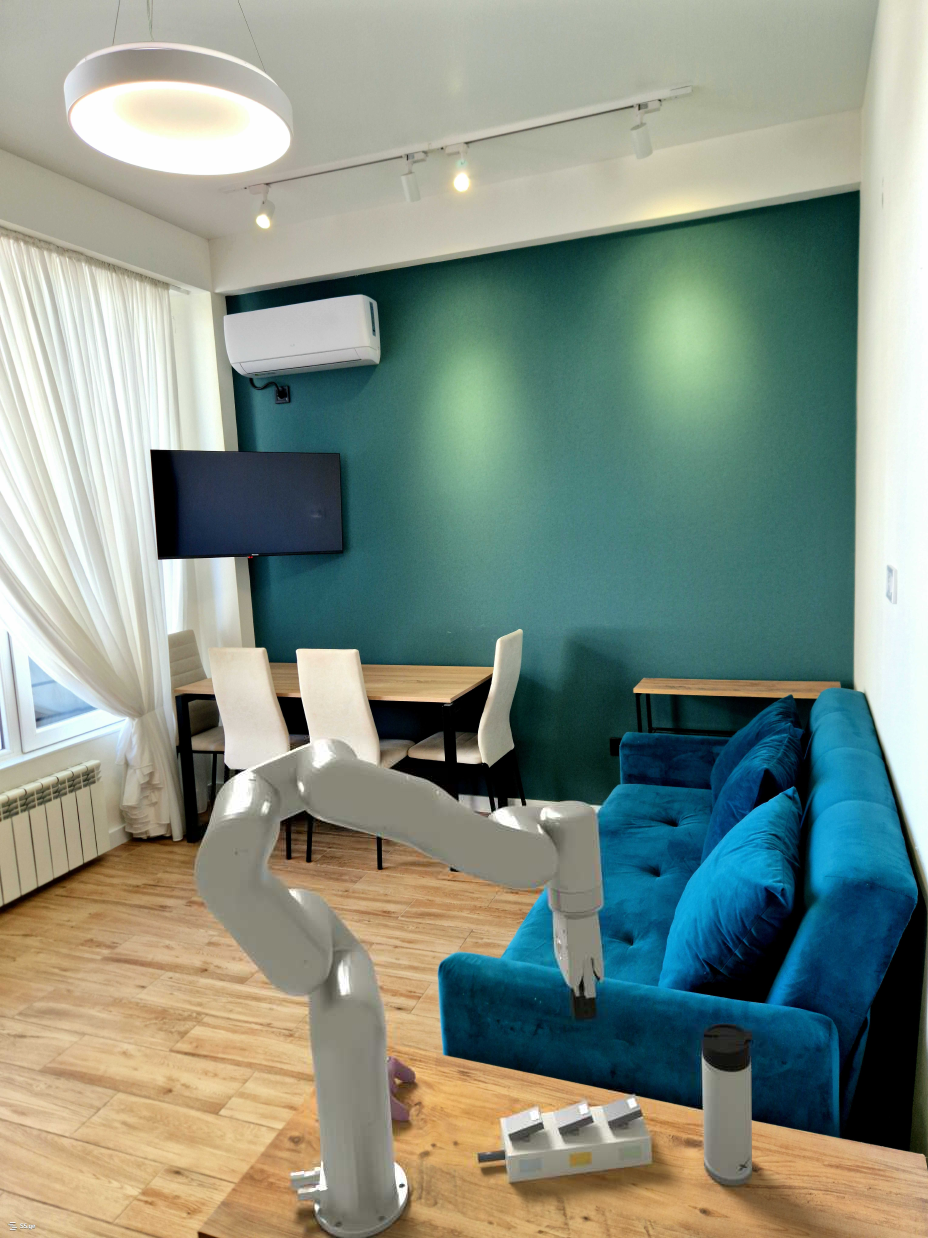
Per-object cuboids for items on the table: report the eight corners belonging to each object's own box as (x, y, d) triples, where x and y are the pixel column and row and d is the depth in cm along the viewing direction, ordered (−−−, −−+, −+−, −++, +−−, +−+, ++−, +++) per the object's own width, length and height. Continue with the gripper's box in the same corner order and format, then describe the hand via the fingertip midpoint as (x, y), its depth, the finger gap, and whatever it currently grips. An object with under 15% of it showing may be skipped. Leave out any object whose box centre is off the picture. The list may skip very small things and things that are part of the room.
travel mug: (758, 1190, 107) (756, 1051, 104) (706, 1185, 108) (703, 1047, 106) (751, 1153, 113) (749, 1021, 111) (702, 1148, 115) (699, 1017, 112)
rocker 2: (609, 1129, 113) (607, 1121, 113) (603, 1113, 116) (601, 1106, 116) (643, 1116, 114) (640, 1108, 113) (636, 1101, 117) (634, 1093, 116)
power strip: (481, 1187, 110) (479, 1156, 109) (475, 1147, 117) (473, 1117, 117) (652, 1164, 112) (651, 1133, 112) (636, 1126, 119) (635, 1097, 119)
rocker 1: (510, 1142, 112) (507, 1134, 112) (507, 1126, 115) (504, 1118, 115) (544, 1129, 112) (541, 1121, 112) (540, 1113, 115) (537, 1105, 115)
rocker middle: (560, 1135, 113) (557, 1128, 112) (555, 1119, 116) (553, 1112, 115) (594, 1122, 113) (591, 1115, 113) (588, 1107, 116) (586, 1099, 116)
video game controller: (394, 1088, 133) (372, 1053, 132) (418, 1076, 132) (396, 1040, 131) (385, 1134, 123) (361, 1096, 122) (411, 1121, 122) (387, 1083, 122)
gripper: (537, 873, 118) (546, 989, 120) (560, 924, 103) (571, 1056, 106) (587, 866, 119) (596, 982, 121) (618, 916, 104) (626, 1047, 106)
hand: (584, 1016), depth 113 cm, fingers closed
